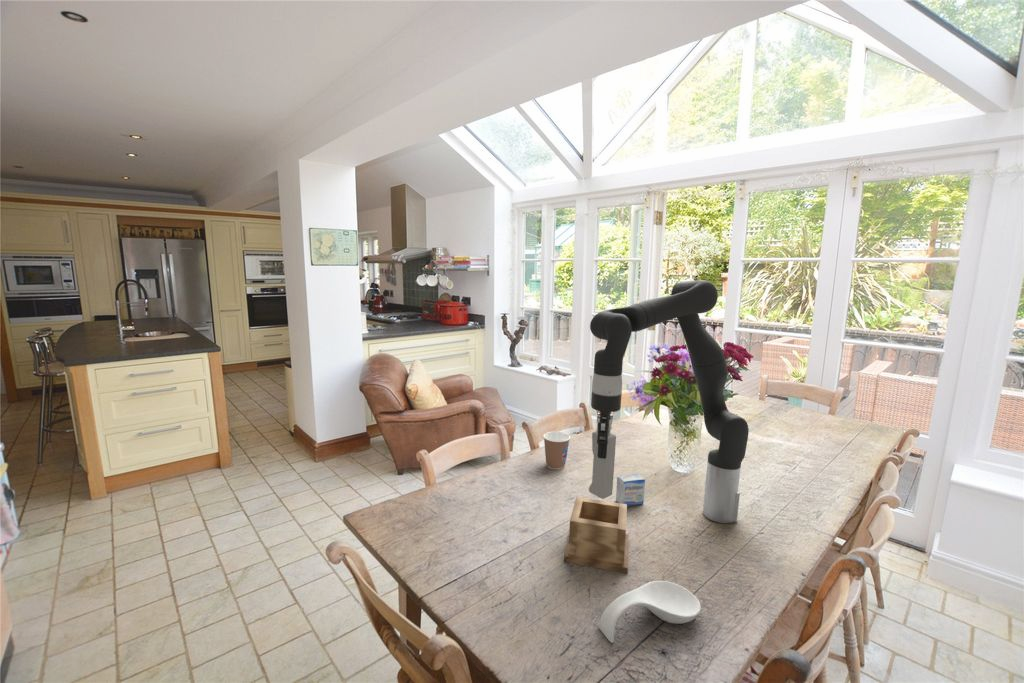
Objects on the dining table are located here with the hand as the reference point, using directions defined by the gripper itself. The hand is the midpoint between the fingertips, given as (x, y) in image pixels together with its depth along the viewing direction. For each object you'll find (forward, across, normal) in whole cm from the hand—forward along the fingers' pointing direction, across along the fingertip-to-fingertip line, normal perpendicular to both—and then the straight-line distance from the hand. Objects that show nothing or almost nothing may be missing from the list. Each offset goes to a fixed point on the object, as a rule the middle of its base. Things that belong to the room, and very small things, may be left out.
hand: (602, 452), depth 117 cm
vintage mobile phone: (+12, 0, 0) cm, 12 cm away
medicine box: (+28, +29, -8) cm, 41 cm away
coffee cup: (+28, +49, +20) cm, 60 cm away
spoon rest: (+28, -22, -13) cm, 38 cm away
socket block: (+28, 0, 0) cm, 28 cm away
